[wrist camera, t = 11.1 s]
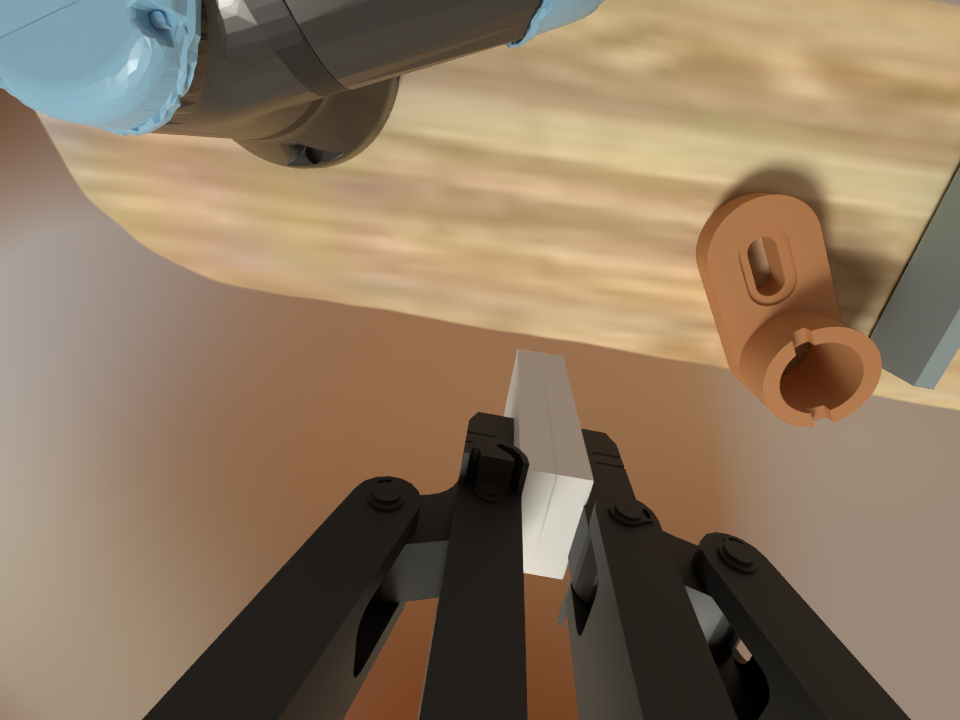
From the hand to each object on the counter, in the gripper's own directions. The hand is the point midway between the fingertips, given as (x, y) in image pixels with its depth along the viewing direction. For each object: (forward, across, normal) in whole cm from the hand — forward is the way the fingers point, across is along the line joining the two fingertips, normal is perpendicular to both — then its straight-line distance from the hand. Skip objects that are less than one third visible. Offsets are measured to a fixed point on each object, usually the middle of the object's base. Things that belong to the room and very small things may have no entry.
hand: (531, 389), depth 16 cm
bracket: (+27, +21, 0) cm, 34 cm away
